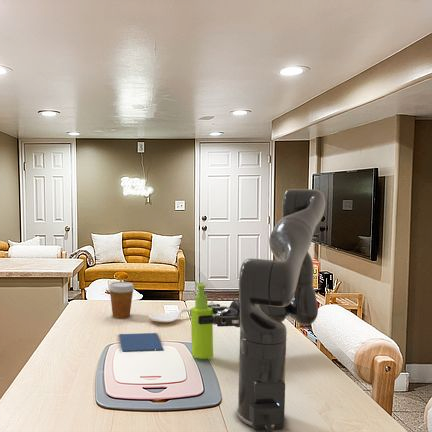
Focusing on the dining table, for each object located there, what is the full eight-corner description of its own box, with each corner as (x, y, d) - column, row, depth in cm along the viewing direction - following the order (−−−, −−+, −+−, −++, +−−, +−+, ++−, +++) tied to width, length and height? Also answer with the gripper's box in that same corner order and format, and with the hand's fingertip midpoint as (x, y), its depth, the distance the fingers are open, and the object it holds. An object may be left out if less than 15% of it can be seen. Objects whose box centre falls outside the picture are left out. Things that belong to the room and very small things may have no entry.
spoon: (227, 314, 164) (228, 305, 163) (157, 327, 147) (157, 317, 147) (212, 308, 171) (212, 300, 171) (143, 320, 155) (143, 311, 154)
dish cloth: (163, 350, 127) (163, 348, 127) (122, 351, 125) (122, 350, 125) (156, 334, 141) (156, 333, 141) (119, 335, 139) (119, 334, 139)
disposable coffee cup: (104, 314, 163) (104, 282, 162) (128, 311, 167) (128, 280, 166) (113, 321, 154) (114, 288, 153) (138, 318, 158) (138, 285, 157)
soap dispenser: (210, 349, 125) (208, 281, 124) (215, 358, 118) (213, 285, 117) (190, 350, 125) (188, 281, 124) (193, 359, 118) (191, 286, 117)
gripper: (238, 294, 131) (185, 297, 127) (262, 306, 117) (204, 310, 113) (238, 318, 131) (185, 322, 127) (261, 333, 117) (203, 338, 113)
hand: (194, 316), depth 120 cm, fingers closed on soap dispenser, 6 cm apart
